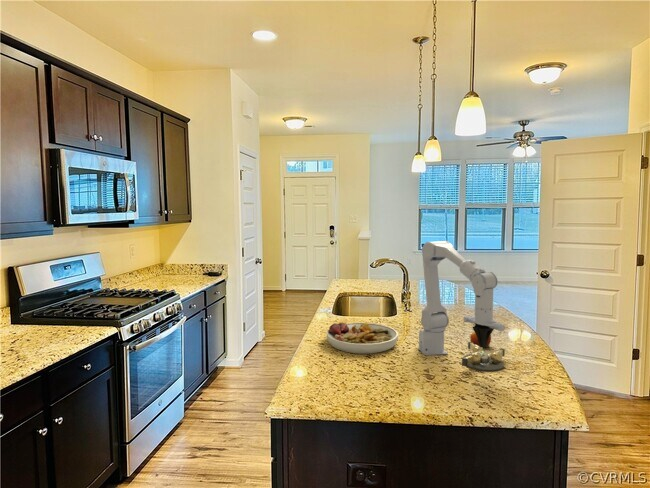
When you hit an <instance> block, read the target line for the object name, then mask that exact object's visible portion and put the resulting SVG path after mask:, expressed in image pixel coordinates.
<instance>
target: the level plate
mask: <svg viewBox="0 0 650 488" xmlns="http://www.w3.org/2000/svg"><path fill="white" fill-rule="evenodd" d="M477 353H480V354H481V364H469V365H467V366H466V367H468V369H473V370H476V371H481V372H498V371H501V370H503V369H504V367H505V363H504V361H503V360H502V363H499V364H497V363H493V362H491V352H489V351H487V350H483V351H477ZM468 356H470V354H466V355H463V357H462V358H464V357H468Z"/></svg>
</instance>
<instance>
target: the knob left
mask: <svg viewBox="0 0 650 488" xmlns="http://www.w3.org/2000/svg"><path fill="white" fill-rule="evenodd" d="M463 357H464V356H463ZM463 357H462V358H461V366H464V367H467V365H469V364H481V354H480V353H477V352H470V356H468V357H464V358H463Z"/></svg>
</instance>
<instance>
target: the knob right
mask: <svg viewBox="0 0 650 488" xmlns="http://www.w3.org/2000/svg"><path fill="white" fill-rule="evenodd" d="M505 351H506V348H503V347H502V348H499V350H496V351H491V352H490V355H491V362H493V363H497V364H499V363H502V361H503V358H504V357H505V355H506V352H505Z"/></svg>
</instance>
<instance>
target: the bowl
mask: <svg viewBox="0 0 650 488" xmlns="http://www.w3.org/2000/svg"><path fill="white" fill-rule="evenodd" d="M398 339H399V333H398V330H395V328H392V327H391V326H387V325H384V324H378V323H373V322H371V323H370V322H350V323H345V322H339V323H332V324H331V325H330V326H329V328H328V330H327V331H326V340H327V342H328V343H329V344H330V345H331V346H332V347H333V348H335V349H337V350H338V351H342V352H344V353H345V352H346V353H351V354H358V355H361V354H362V355H364V354H365V355H367V354H378V353H382V352H386V351H388V350H390V349H391V348H392V349H393V347H394V346H395V345H396V344H397V342H398Z"/></svg>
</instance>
